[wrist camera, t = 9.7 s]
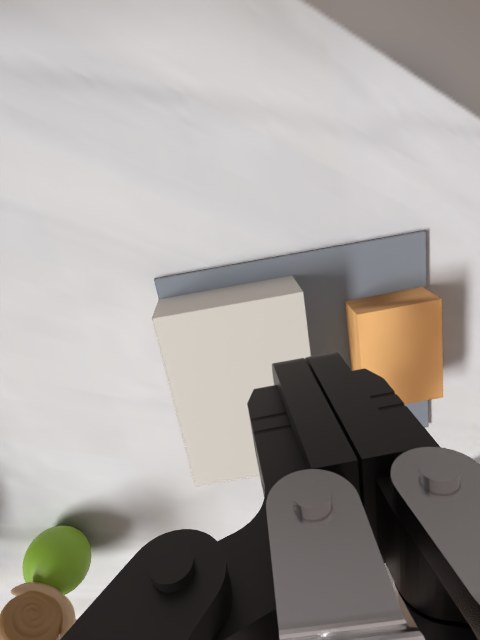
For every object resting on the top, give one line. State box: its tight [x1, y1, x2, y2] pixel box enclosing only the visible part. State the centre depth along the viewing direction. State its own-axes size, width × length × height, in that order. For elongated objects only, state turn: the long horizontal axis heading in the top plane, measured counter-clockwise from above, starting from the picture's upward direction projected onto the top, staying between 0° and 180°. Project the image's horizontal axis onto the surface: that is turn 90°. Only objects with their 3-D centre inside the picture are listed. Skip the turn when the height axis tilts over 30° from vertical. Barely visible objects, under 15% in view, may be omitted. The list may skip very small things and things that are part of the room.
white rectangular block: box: [152, 276, 311, 487], centre depth 33 cm, size 10×14×4 cm
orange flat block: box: [345, 287, 443, 404], centre depth 34 cm, size 6×8×3 cm
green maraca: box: [0, 526, 91, 640], centre depth 35 cm, size 5×6×12 cm
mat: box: [154, 231, 428, 427], centre depth 35 cm, size 20×17×1 cm
